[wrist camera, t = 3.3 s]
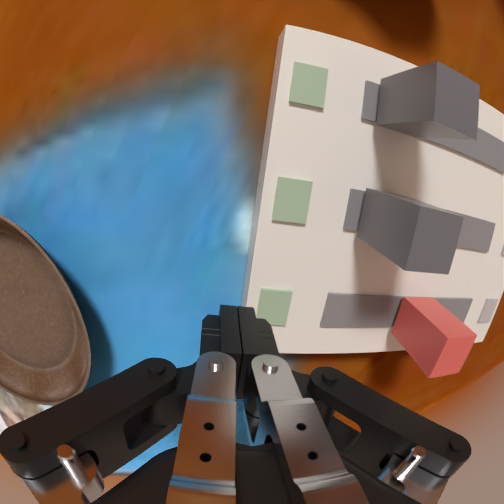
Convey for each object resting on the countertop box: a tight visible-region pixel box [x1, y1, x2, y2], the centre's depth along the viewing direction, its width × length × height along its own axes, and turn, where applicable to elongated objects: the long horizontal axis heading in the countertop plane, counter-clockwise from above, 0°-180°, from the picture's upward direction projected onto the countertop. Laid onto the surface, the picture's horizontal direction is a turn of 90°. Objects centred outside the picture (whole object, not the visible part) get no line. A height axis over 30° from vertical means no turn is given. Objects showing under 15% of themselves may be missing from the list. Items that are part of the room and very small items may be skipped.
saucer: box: [0, 215, 91, 405], centre depth 15 cm, size 15×15×3 cm
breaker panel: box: [241, 25, 504, 354], centre depth 14 cm, size 20×17×7 cm
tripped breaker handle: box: [391, 297, 477, 378], centre depth 14 cm, size 2×2×4 cm
